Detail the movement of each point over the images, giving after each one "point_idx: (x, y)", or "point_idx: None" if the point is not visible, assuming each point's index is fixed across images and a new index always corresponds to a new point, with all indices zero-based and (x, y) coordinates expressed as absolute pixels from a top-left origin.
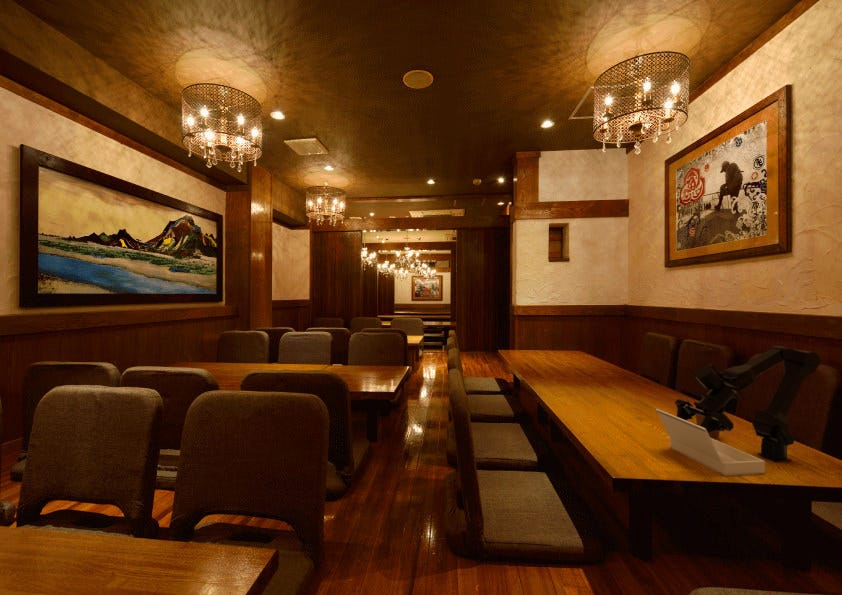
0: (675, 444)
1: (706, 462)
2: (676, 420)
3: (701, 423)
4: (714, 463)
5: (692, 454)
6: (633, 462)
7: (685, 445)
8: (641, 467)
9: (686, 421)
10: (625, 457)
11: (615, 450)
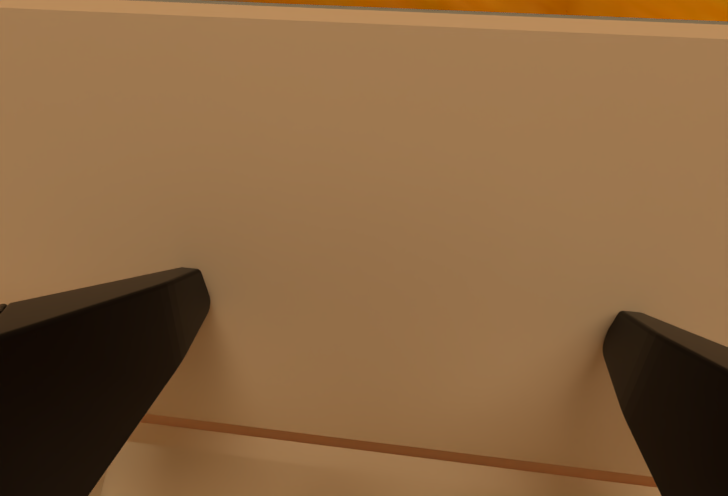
0: (646, 479)
1: (263, 429)
2: (501, 110)
3: (6, 330)
4: (176, 422)
5: (415, 449)
6: (452, 4)
7: (518, 469)
8: (380, 3)
9: (167, 8)
10: (530, 5)
11: (651, 14)
